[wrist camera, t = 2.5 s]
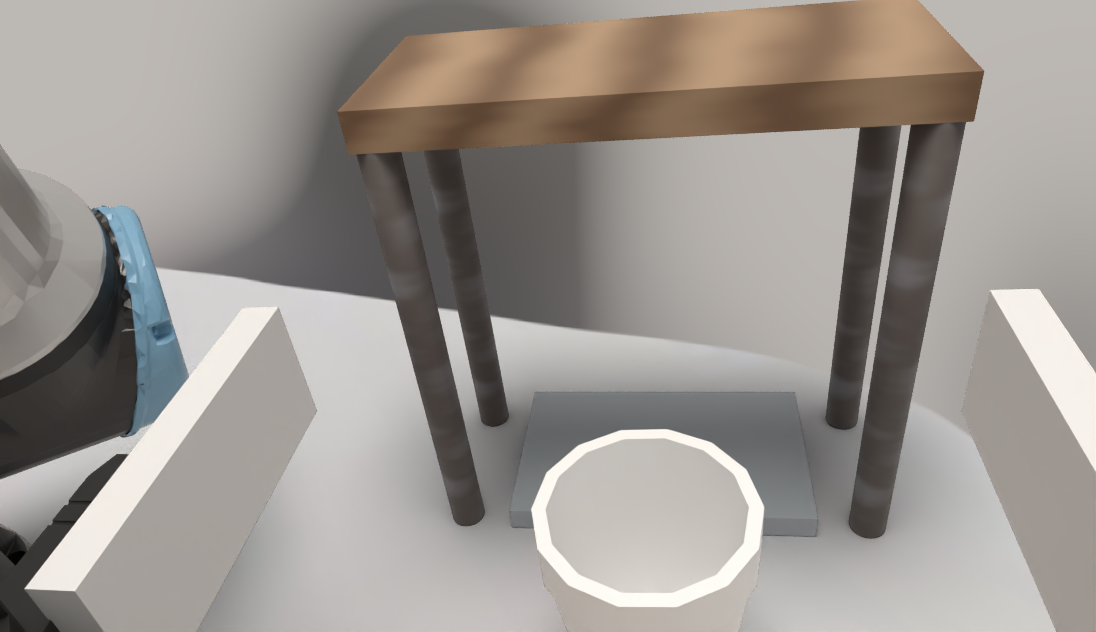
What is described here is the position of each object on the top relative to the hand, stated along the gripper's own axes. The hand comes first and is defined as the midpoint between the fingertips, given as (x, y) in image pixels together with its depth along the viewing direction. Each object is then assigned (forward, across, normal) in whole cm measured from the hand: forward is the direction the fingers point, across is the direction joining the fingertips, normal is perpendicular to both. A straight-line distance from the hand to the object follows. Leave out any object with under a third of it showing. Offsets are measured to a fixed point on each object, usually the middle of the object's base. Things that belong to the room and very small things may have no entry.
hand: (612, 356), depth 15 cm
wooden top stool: (+25, 0, -29) cm, 38 cm away
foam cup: (+10, 0, -29) cm, 31 cm away
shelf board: (+25, 0, -29) cm, 38 cm away
